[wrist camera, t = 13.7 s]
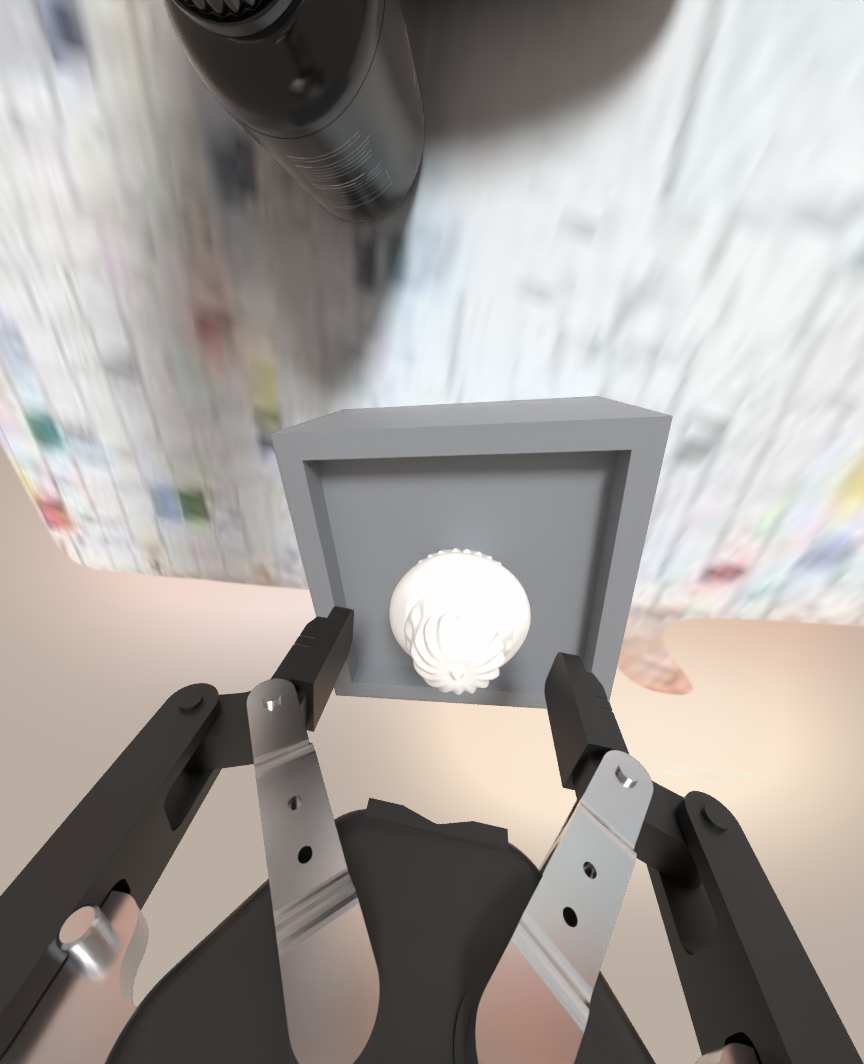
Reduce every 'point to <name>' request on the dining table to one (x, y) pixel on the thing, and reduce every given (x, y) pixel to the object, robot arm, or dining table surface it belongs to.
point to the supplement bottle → (316, 91)
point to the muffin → (459, 618)
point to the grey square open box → (477, 524)
